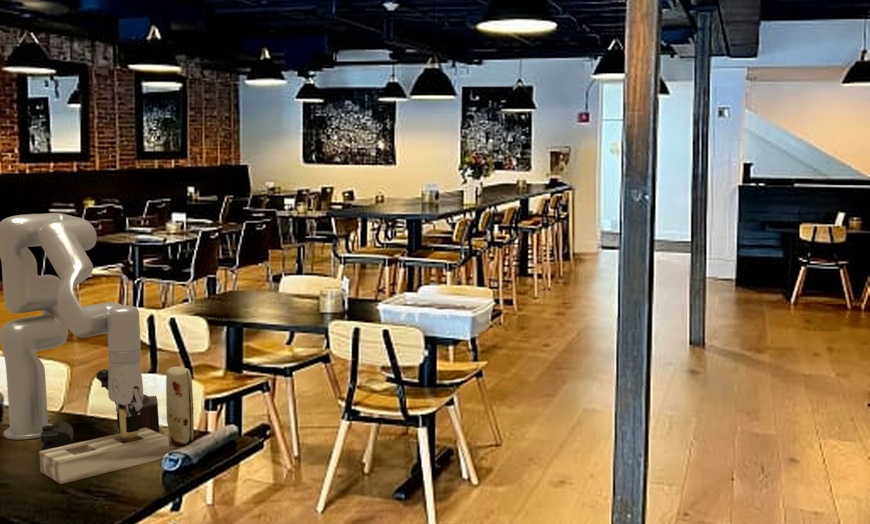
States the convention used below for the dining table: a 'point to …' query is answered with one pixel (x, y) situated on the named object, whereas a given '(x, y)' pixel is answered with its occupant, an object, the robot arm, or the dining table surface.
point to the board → (102, 455)
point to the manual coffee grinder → (147, 412)
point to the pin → (125, 435)
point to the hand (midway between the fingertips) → (128, 428)
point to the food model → (179, 405)
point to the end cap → (56, 435)
